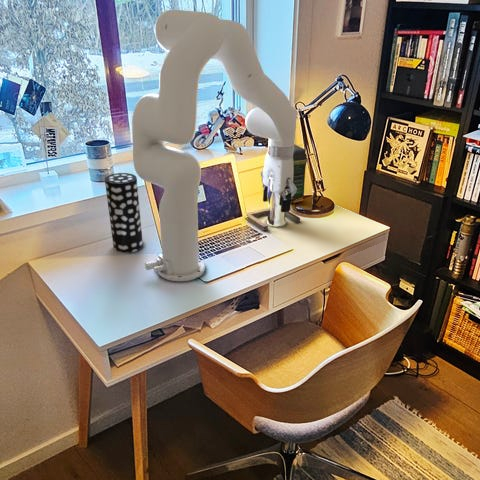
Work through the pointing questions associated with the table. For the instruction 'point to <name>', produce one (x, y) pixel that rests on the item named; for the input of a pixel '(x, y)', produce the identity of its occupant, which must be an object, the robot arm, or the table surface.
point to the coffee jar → (299, 171)
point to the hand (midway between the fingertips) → (276, 206)
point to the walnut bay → (265, 212)
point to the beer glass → (275, 206)
